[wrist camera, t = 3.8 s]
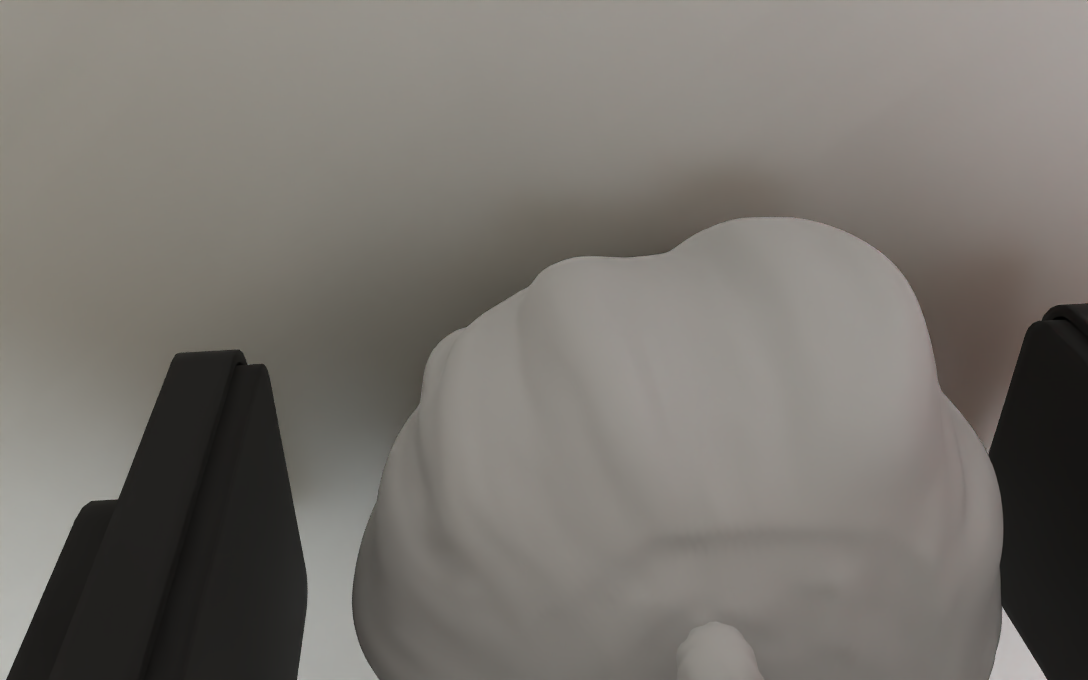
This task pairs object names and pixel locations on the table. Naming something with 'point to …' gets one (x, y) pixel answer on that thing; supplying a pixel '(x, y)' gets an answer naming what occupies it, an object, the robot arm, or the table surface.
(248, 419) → the robot arm
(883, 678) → the garlic
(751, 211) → the table surface
